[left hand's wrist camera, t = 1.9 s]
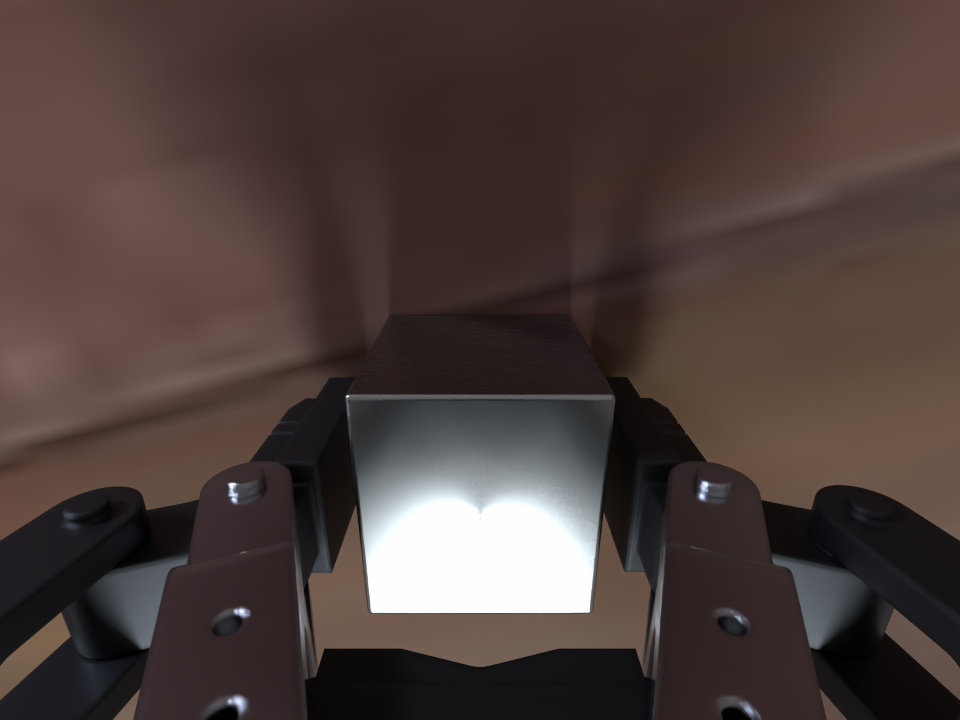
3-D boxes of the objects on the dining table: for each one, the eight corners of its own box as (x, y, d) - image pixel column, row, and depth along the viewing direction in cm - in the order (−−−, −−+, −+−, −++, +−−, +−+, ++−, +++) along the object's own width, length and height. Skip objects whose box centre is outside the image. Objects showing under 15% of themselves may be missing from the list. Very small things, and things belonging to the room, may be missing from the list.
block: (400, 480, 13) (367, 615, 9) (388, 313, 12) (343, 394, 8) (560, 480, 13) (593, 616, 9) (572, 313, 12) (617, 394, 8)
